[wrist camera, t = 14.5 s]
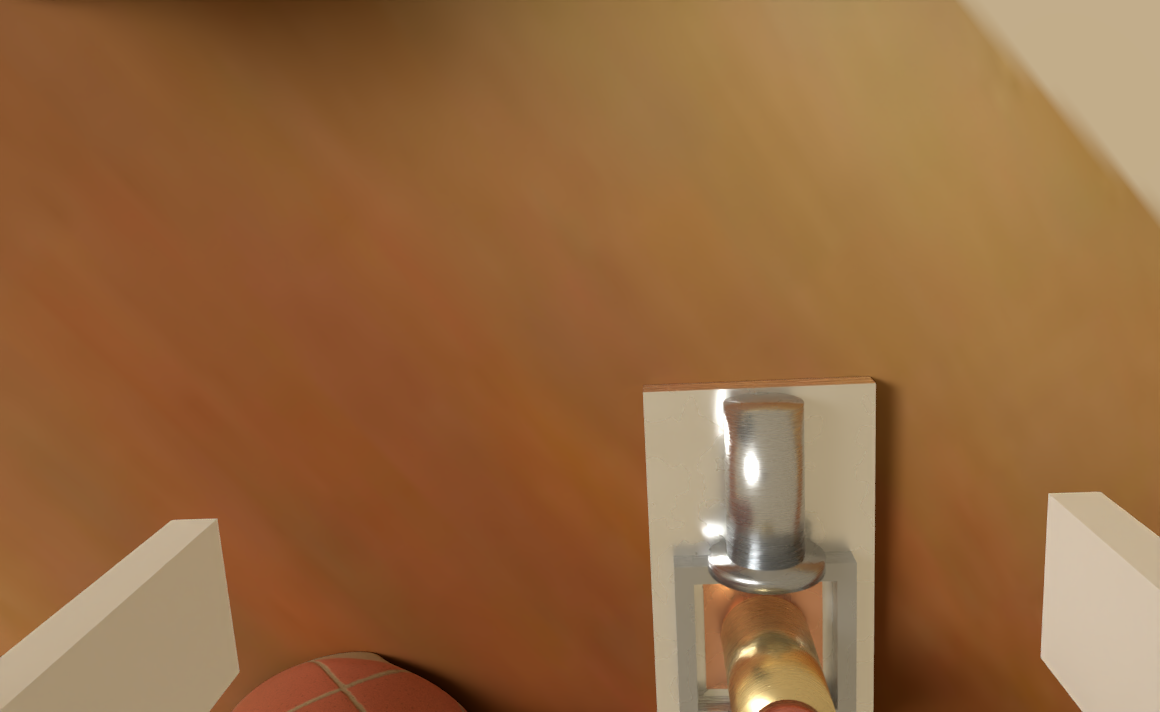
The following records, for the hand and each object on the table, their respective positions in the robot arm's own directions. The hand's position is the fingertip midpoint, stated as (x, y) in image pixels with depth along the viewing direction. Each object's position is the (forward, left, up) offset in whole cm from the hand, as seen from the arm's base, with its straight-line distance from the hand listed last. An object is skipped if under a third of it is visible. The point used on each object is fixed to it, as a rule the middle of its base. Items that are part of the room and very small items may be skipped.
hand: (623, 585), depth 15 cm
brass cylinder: (+20, +6, -35) cm, 41 cm away
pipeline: (+20, +6, -37) cm, 42 cm away
